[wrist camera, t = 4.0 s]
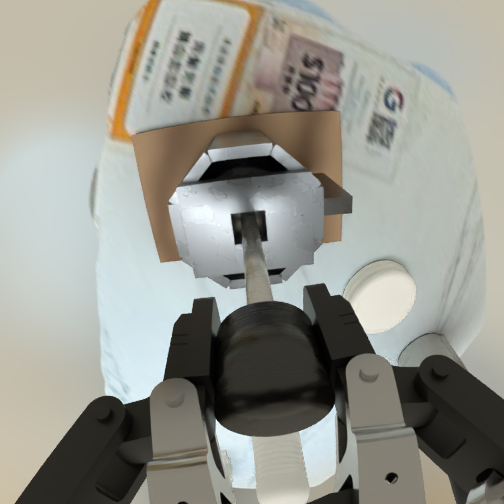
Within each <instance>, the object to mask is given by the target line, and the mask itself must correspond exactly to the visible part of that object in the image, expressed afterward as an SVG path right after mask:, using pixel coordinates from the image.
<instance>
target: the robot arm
mask: <svg viewBox="0 0 504 504" xmlns="http://www.w3.org/2000/svg"><path fill="white" fill-rule="evenodd" d="M303 311H304V312H305V313H306V314H307V315H308V317H309V318H310V319H311V322H312V324H313V327H314V330H315V333H316V336H317V339H318V342H319V345H320V348H321V351H322V354H323V357H324V360H325V364H326V367H327V370H328V373H329V376H330V379H331V383H332V386H333V389H334V392H335V397H336V399H335V407H336V411H337V412H336V416H335V426H336V473H335V481H334V493H331V494H328V495H326V496H323V497H321V498H319V499H317V500H314V501H312V502H310V503H307V504H426V500H425V491H424V483H423V475H422V468H421V461H420V455H419V449H420V450H421V451H423V452H424V453H425V454H426V455H427V456H428V457H429V458H430V459H431V460H432V461H433V462H434V463H435V464H436V465H437V466H439V467H440V468H441V469H442V470H443V471H444V472H445V473H446V474H447V475H448V477H449V480H450V483H451V486H452V490H453V493H454V497H455V500H456V503H457V504H504V399H502V398H501V397H500V396H499V395H497V394H496V393H495V392H494V391H492V390H491V389H490V388H488V387H487V386H486V385H485V384H483V383H482V382H481V381H480V380H478V379H477V378H476V377H474V376H473V375H472V374H470V373H469V372H468V371H467V369H466V367H465V366H464V364H463V363H462V361H461V360H460V358H459V357H458V355H457V354H456V352H455V351H454V349H453V348H452V346H451V345H450V343H449V342H448V341H447V339H446V338H445V336H444V335H441V336H439V335H437V334H427V335H424V336H422V337H420V338H418V339H416V340H415V341H413V342H412V343H411V344H410V345H408V346H407V347H406V349H405V350H404V351H403V352H402V354H401V355H400V357H399V360H398V365H399V366H393V365H391V364H390V363H389V362H388V361H387V360H386V359H385V358H383V357H382V356H379V355H376V353H375V351H374V349H373V347H372V345H371V343H370V341H369V339H368V337H367V335H366V333H365V331H364V329H363V327H362V325H361V323H359V319H358V317H357V315H355V311H354V310H353V308H352V306H351V304H350V302H349V301H347V300H346V299H345V298H343V297H342V296H341V295H335V296H330V294H329V291H328V289H327V287H326V285H325V284H324V283H322V284H315V285H308V286H304V289H303ZM220 325H221V321H220V317H219V312H218V308H217V303H216V299H215V297H208V298H199V299H194V302H193V308H192V313H188V314H181V316H180V317H179V318H178V320H177V321H176V322H175V324H174V327H173V332H172V337H171V342H170V347H169V352H168V358H167V363H166V368H165V374H164V379H163V382H161V383H159V384H158V385H157V386H156V387H155V388H154V389H153V391H152V393H151V395H150V397H148V398H146V399H143V400H139V401H136V402H132V403H128V404H123V403H122V402H121V401H120V400H119V399H118V398H116V397H113V396H102V397H99V398H97V399H95V400H93V401H92V402H91V403H90V404H89V405H88V406H87V408H86V409H85V410H84V412H83V413H82V414H81V415H80V417H79V418H78V419H77V420H76V422H75V423H74V424H73V426H72V427H71V428H70V429H69V431H68V432H67V433H66V435H65V436H64V437H63V439H62V440H61V441H60V443H59V444H58V445H57V447H56V448H55V449H54V450H53V452H52V453H51V455H50V456H49V457H48V458H47V460H46V461H45V463H44V464H43V465H42V467H41V468H40V469H39V471H38V472H37V474H36V475H35V476H34V477H33V479H32V480H31V482H30V483H29V484H28V486H27V487H26V488H25V490H24V491H23V493H22V494H21V496H20V497H19V498H18V500H17V501H16V503H15V504H130V503H131V501H132V500H133V498H134V497H135V495H136V493H137V492H138V490H139V488H140V487H141V485H142V483H143V482H144V480H145V479H146V477H147V482H148V491H149V498H150V504H236V501H235V498H234V495H233V492H232V489H231V487H230V485H229V482H228V479H227V475H226V471H225V467H224V464H223V460H222V456H221V452H220V448H219V443H218V439H217V435H216V432H215V425H216V417H215V414H214V396H215V359H216V335H217V331H218V328H219V326H220ZM418 448H419V449H418ZM388 482H390V484H388Z"/></svg>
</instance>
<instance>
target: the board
mask: <svg viewBox="0 0 504 504" xmlns="http://www.w3.org/2000/svg"><path fill="white" fill-rule="evenodd" d="M254 129H257V130H258V131H260V130H261V131H262V132H263V133H264V134H266V135H267V136H268V137H269V138H271V139H272V140H273V141H274V142H275V143H277V144H278V145H279V146H280V147H282V148H283V149H284V150H285V151H286V152H288V153H289V154H290V155H291V156H292V157H293V158H295V159H296V160H297V161H298V162H299V163H300V164H301V165H302V166H304V167H305V168H306V169H309V170H310V171H311V172H312V173H324V174H326V175H327V176H328V177H329V178H331V179H332V180H333V181H334V182H336V183H337V184H338V185H339V186H340V187H342V144H341V121H340V111H303V112H284V113H270V114H258V115H248V116H238V117H230V118H222V119H215V120H208V121H201V122H195V123H189V124H183V125H178V126H172V127H167V128H162V129H157V130H152V131H148V132H143V133H139V134H135V135H132V140H133V145H134V151H135V156H136V161H137V166H138V171H139V176H140V181H141V185H142V190H143V195H144V199H145V203H146V208H147V212H148V216H149V220H150V224H151V228H152V232H153V236H154V240H155V244H156V248H157V251H158V255H159V259H160V262H161V263H162V262H170V261H178V260H182V259H183V257H179V253H178V249H177V245H176V240H175V236H174V232H173V227H172V223H171V218H170V214H169V209H168V204H169V200H170V198H171V196H172V195H173V193H174V192H175V190H176V187H177V185H178V184H180V182H181V181H182V179H183V177H184V176H185V174H186V173H187V171H188V170H189V168H190V167H191V165H192V164H193V163H194V161H195V160H196V159H197V157H198V156H199V155H200V153H201V152H202V151H203V149H204V148H205V147H206V146H207V144H208V143H209V142H210V140H211V139H212V138H213V137H214V135H215V136H216V135H217V134H220V133H228V132H236V131H245V130H254ZM341 234H342V214H337V215H327V216H324V240H321V243H328V242H336V241H341Z"/></svg>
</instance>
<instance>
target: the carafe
mask: <svg viewBox="0 0 504 504" xmlns="http://www.w3.org/2000/svg"><path fill="white" fill-rule="evenodd" d="M239 166H256V167H260V168H263V169H266V170H268V171H269V172H265V173H256V174H247V175H238V176H230V177H223V178H217V177H218V176H219V175H220V174H222V173H223V172H225V171H227V170H229V169H231V168H235V167H239ZM168 209H169V214H170V218H171V223H172V227H173V232H174V236H175V240H176V245H177V249H178V253H179V257H183V259H182V261H183V262H185V263H186V264H188V265H189V266H191V267H193V270H194V274H195V278H202V277H208V278H210V279H212V280H213V281H215V282H217V283H218V284H220V285H221V286H223V287H225V288H227V287H228V286H230V289H237V288H245V287H246V284H245V272H244V260H243V247H242V239H234V232H233V225H232V217H231V214H235V213H243V212H251V211H260V210H264V213H265V224H266V235H267V236H260V238H261V243H262V247H263V252H264V257H265V262H266V267H267V272H268V276H269V281H270V284H278V283H282V279H283V280H285V281H287V280H288V279H289V278H290V277H291V275H292V274H293V273H294V272H295V271H296V270H297V269H298V268H299V267H300V266H302V265H310V264H314V252H315V251H316V250H317V249H318V248H319V247H320V246H321V245H322V243H321V240H324V216H327V215H337V214H347V213H352V196H351V195H350V194H349V193H348V192H346V191H345V190H344V189H343V188H342V187H340V186H339V185H338V184H337V183H336V182H334V181H333V180H332V179H331V178H329V177H328V176H327V175H326V174H324V173H312V172H311V171H310V170H309V169H306V168H305V167H304V166H302V165H301V164H300V163H299V162H298V161H297V160H296V159H295V158H293V157H292V156H291V155H290V154H289V153H288V152H286V151H285V150H284V149H283V148H282V147H280V146H279V145H278V144H277V143H275V142H274V141H273V140H272V139H271V138H269V137H268V136H267V135H266V134H264V133H263V132H262V131H261V130H260V131H258V130H257V129H254V130H245V131H236V132H228V133H220V134H217V135H216V136H215V135H214V137H213V138H212V139H211V140H210V142H209V143H208V144H207V146H206V147H205V148H204V149H203V151H202V152H201V153H200V155H199V156H198V157H197V159H196V160H195V161H194V163H193V164H192V165H191V167H190V168H189V170H188V171H187V173H186V174H185V176H184V177H183V179H182V181H181V182H180V184H178V185H177V187H176V190H175V192H174V193H173V195H172V196H171V198H170V200H169V204H168Z"/></svg>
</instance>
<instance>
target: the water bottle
mask: <svg viewBox="0 0 504 504" xmlns="http://www.w3.org/2000/svg"><path fill="white" fill-rule="evenodd" d="M252 437H253V439H252V443H253V451H254V461H255V472H256V473H255V476H256V483H257V484H256V488H257V498H258V500H259V503H260V504H305V503H306V501H307V499H308V497H309V491H310V489H309V483H308V479H307V477H306V476H307V473H306V468H305V462H304V457H303V452H302V447H301V440H300V434H299V432H295V433H291V434H287V435H281V436H273V437H255V436H252Z"/></svg>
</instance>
